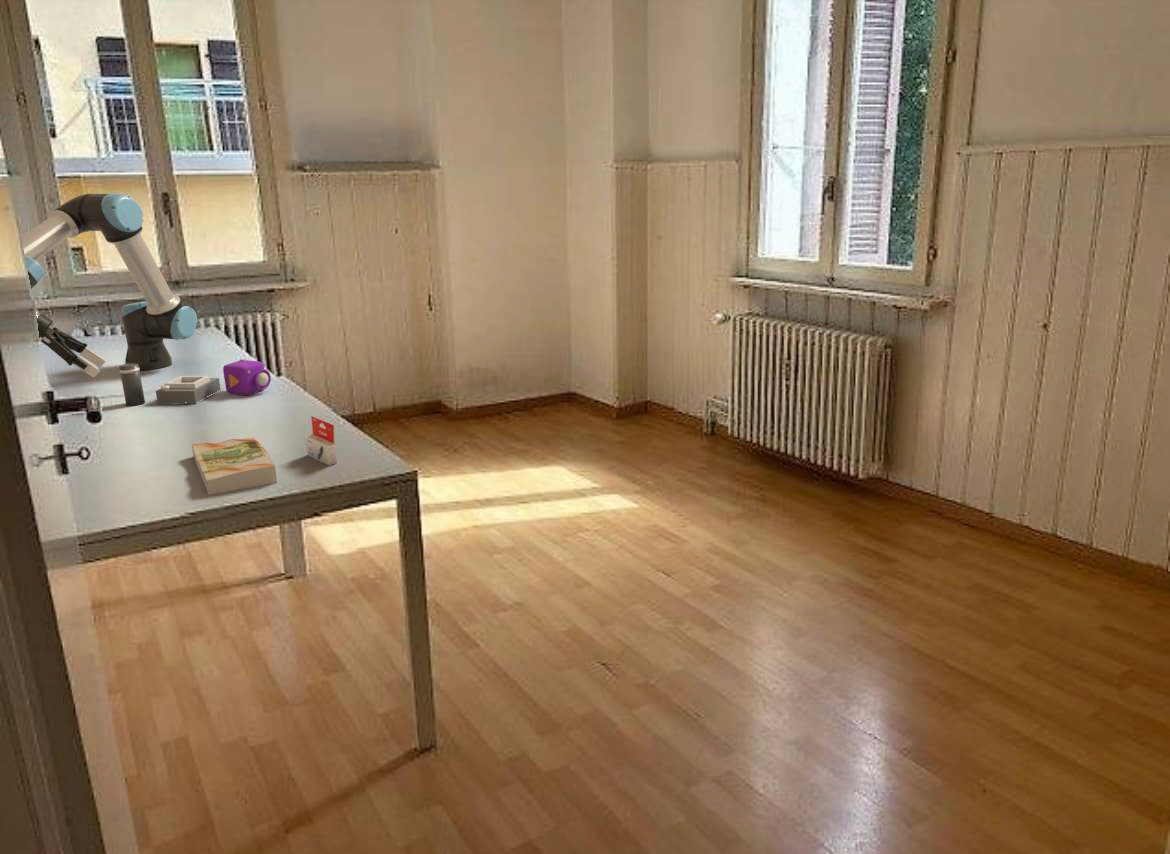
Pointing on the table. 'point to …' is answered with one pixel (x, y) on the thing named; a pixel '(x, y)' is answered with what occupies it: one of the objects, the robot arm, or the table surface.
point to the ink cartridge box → (321, 442)
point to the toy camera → (246, 377)
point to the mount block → (187, 389)
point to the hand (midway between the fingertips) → (100, 369)
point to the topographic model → (233, 465)
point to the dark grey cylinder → (132, 384)
